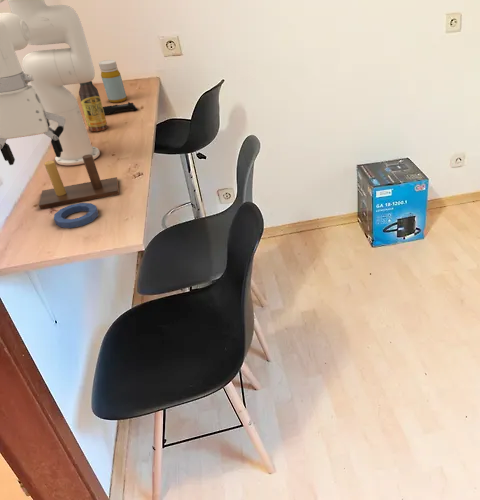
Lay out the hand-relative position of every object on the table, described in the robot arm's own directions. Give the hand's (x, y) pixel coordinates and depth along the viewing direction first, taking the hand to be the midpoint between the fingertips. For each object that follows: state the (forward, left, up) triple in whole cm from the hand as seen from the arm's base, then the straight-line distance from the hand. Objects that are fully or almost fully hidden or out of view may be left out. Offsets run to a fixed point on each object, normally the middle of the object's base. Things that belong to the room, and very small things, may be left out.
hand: (36, 159), depth 117 cm
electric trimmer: (-80, +15, -17) cm, 83 cm away
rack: (-13, +4, -16) cm, 21 cm away
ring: (+1, +4, -16) cm, 17 cm away
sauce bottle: (-64, +9, -17) cm, 67 cm away
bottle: (-96, +16, -17) cm, 99 cm away
